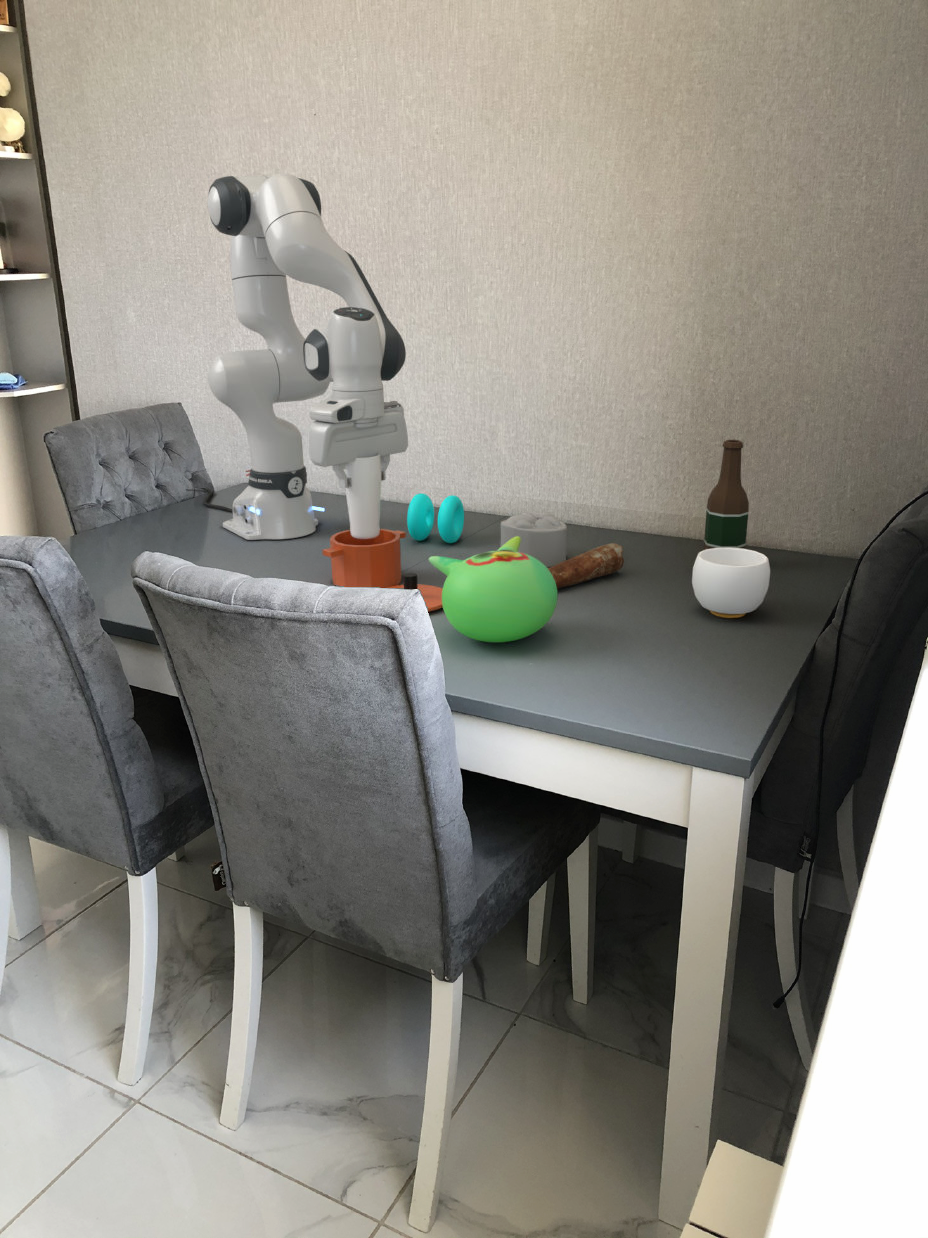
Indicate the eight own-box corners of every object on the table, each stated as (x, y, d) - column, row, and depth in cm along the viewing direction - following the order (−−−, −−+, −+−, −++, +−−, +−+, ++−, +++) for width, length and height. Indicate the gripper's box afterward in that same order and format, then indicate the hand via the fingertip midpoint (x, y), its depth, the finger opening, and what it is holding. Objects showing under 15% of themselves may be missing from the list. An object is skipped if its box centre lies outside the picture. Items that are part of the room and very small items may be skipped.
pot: (307, 585, 177) (304, 540, 175) (381, 564, 190) (379, 522, 187) (352, 600, 169) (349, 553, 166) (425, 577, 181) (424, 533, 178)
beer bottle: (746, 562, 188) (758, 438, 179) (739, 573, 181) (751, 445, 173) (706, 558, 191) (716, 436, 182) (698, 569, 184) (707, 442, 176)
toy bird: (467, 665, 141) (466, 569, 136) (425, 628, 156) (422, 540, 151) (574, 645, 148) (577, 553, 143) (524, 612, 163) (525, 527, 157)
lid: (354, 604, 167) (353, 575, 166) (412, 585, 177) (411, 558, 175) (409, 622, 158) (408, 592, 157) (467, 602, 168) (467, 573, 166)
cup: (753, 630, 153) (759, 572, 150) (679, 617, 159) (683, 560, 156) (775, 607, 163) (780, 552, 160) (704, 596, 169) (708, 542, 166)
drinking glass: (378, 542, 173) (374, 458, 168) (341, 540, 174) (337, 457, 169) (388, 532, 179) (385, 451, 174) (353, 530, 180) (349, 450, 175)
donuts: (450, 549, 199) (450, 501, 195) (405, 545, 202) (404, 498, 199) (466, 537, 208) (465, 491, 204) (422, 533, 211) (421, 488, 207)
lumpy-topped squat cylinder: (525, 547, 200) (525, 506, 197) (577, 558, 192) (579, 515, 189) (493, 558, 192) (493, 516, 189) (547, 570, 184) (548, 526, 181)
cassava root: (626, 574, 181) (627, 545, 179) (552, 595, 170) (552, 565, 168) (602, 566, 186) (603, 539, 184) (528, 587, 175) (528, 557, 173)
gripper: (390, 398, 177) (393, 472, 182) (301, 410, 164) (306, 490, 168) (414, 401, 173) (416, 477, 178) (324, 414, 160) (329, 496, 164)
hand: (362, 484), depth 173 cm, fingers closed on drinking glass, 7 cm apart
